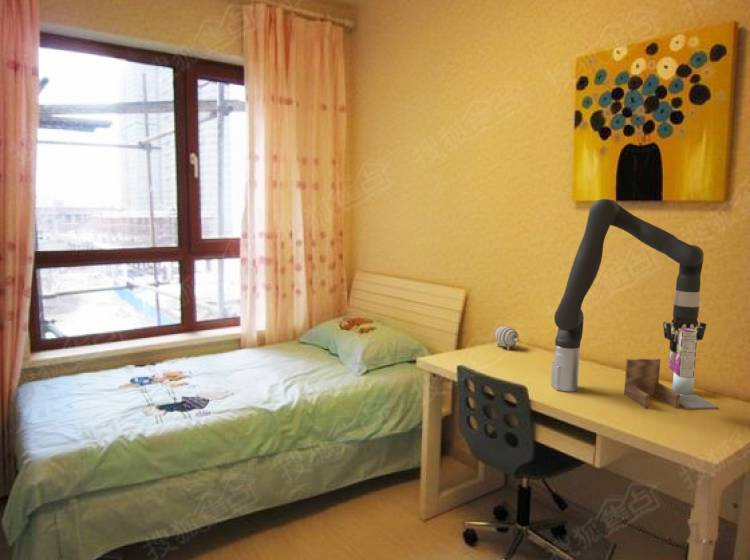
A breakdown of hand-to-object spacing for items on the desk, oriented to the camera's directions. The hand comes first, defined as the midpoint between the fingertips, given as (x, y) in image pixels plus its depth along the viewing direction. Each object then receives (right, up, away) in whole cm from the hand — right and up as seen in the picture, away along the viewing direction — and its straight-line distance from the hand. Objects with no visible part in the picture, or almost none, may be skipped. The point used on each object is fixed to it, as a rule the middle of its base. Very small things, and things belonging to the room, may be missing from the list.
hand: (682, 351), depth 178 cm
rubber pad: (+10, -20, +11) cm, 25 cm away
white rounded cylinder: (+13, -19, +22) cm, 32 cm away
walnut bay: (-4, -20, +12) cm, 24 cm away
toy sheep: (-40, -10, +83) cm, 93 cm away
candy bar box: (0, -8, +1) cm, 8 cm away
